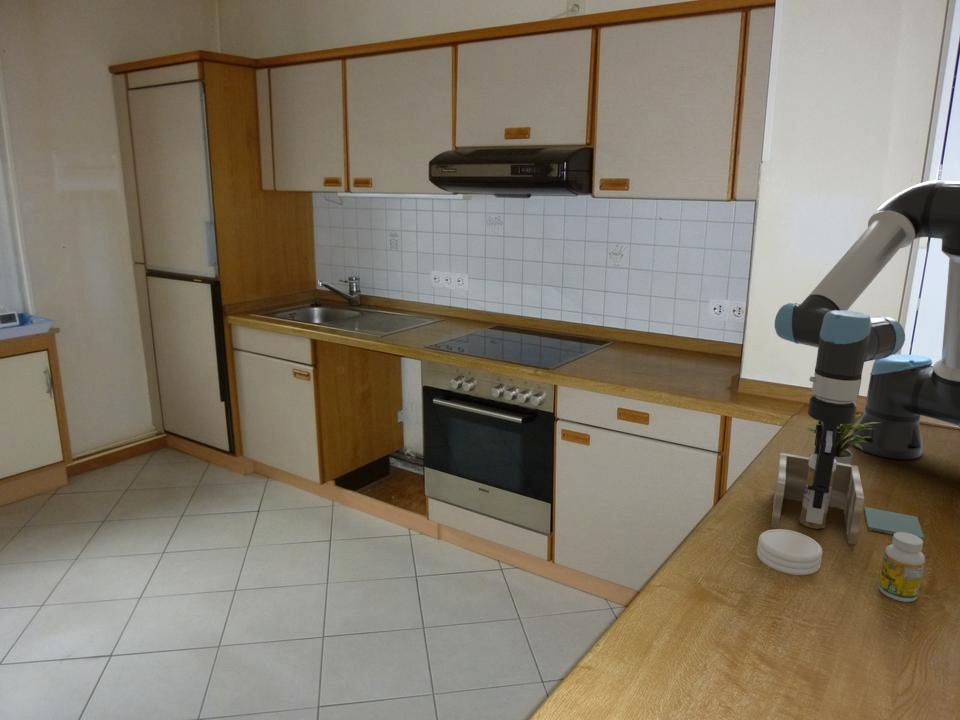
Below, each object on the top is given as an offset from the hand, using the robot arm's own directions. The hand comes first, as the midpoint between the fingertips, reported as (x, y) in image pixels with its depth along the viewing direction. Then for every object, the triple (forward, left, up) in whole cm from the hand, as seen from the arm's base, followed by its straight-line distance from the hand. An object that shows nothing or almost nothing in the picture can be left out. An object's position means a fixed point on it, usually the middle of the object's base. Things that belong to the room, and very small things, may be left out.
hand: (813, 515), depth 132 cm
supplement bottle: (+19, +12, -2) cm, 23 cm away
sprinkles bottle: (0, 0, -2) cm, 2 cm away
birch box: (-3, 0, -2) cm, 3 cm away
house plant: (-24, +4, -2) cm, 24 cm away
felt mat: (-7, +14, -2) cm, 16 cm away
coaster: (+16, -4, -2) cm, 17 cm away
